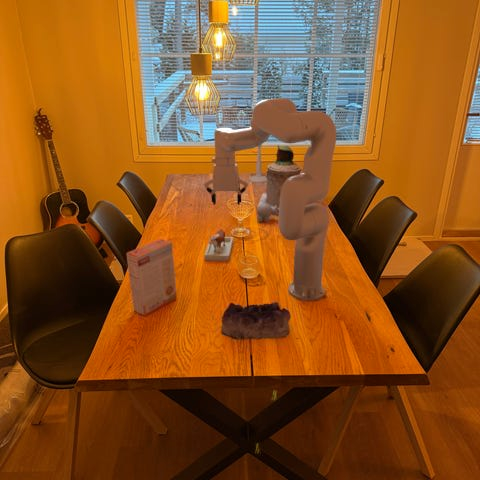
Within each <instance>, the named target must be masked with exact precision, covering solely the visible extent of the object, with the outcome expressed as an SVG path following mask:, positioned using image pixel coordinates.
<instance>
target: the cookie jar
mask: <svg viewBox="0 0 480 480" xmlns="http://www.w3.org/2000/svg"><path fill="white" fill-rule="evenodd" d="M276 151H277V152H276V153H275V156H276V159H275V161H274V162H272V163H271V164H268V165H267V166H266V169H267V171H266V177H267V182H266V186H265V192H263V193H262V194H261V197H260V199H259V203H258V205H257V207H258V206H259V205H260V204H262V203H267V204H269V205H270V206H271V207H275V205H277V207H278V208H279V205H280V193H281V188H282V185H283V183H284V182H285V181H286V180H287V179H288V178H290V177H292V176H295V175H299V174H301V173H302V170H303V168H302V167H301V165H299V164H298V163H296V162H294V161H293V159H294V151H293V150H292V148H291V147H290V146H288V145H279V144H278V145H277V150H276Z"/></svg>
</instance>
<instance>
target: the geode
mask: <svg viewBox="0 0 480 480" xmlns="http://www.w3.org/2000/svg"><path fill="white" fill-rule="evenodd" d="M291 315H292V314H291V312H290V311H289V310H288V309H286V308H284V307H283V308H281V306H280V304H279V302H278V301H274V302H271V303H264V304H247V305H246V306H244V307H243V306H242V304H235V303H234V302H229V305H228V306H227V308H226V309H225V310H224V311H223V314H222V316H221V332H220V333H221V335H223V336H225V337H228V338H231V339H232V340H250V339H251V340H252V339H253V340H260V339H263V340H267V339H280V338H285V337H287V336H288V335H289V334H290V333H291V330H290V324H289V320H290V319H291Z"/></svg>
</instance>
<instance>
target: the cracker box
mask: <svg viewBox="0 0 480 480" xmlns="http://www.w3.org/2000/svg"><path fill="white" fill-rule="evenodd" d="M173 254H174V253H173V243H172V242H171V241H168V240H165V239H162V238H159V239H157V240H154V241H151V242H149V243H147V244H144V245H142V246H140V247H137V248H134V249H132V250H131V251H130V250H129V251H127V252H126V254H125V256H126V263H127V269H128V276H129V277H128V278H129V284H130V291H131V299H132V306H133V311H134V312H135V313H138V314H140V315H141V316H143V317H147V316H148V315H150V314H151V313H154V312H155V311H157V310H159V309H160V308H162V307H164V306H166V305H168V304H170V303H172V302H173V301H175V300H177V299H178V298H177V289H176V288H177V286H176V274H175V265H174V264H175V262H174V255H173Z"/></svg>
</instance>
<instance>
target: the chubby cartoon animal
mask: <svg viewBox="0 0 480 480" xmlns="http://www.w3.org/2000/svg"><path fill="white" fill-rule="evenodd" d="M258 205H259V204H258ZM258 205H257V207H256V214H257V218H256V219H257V221H258V222H259V223H261V222H265V223H269V222H270V221H271V220H270V217H271V216H276V217H279V208H278V207H277V205H275V207H271V206H270V205H269V204H267V203H262V204H260V205H259V206H258Z"/></svg>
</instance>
